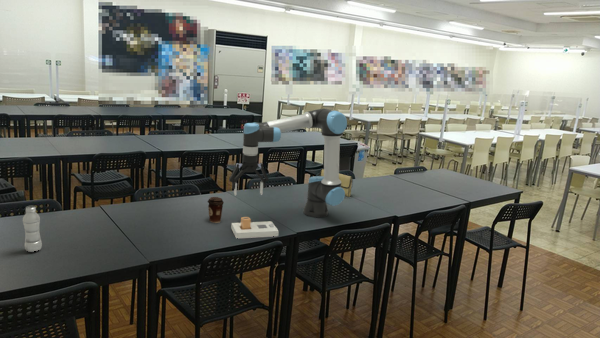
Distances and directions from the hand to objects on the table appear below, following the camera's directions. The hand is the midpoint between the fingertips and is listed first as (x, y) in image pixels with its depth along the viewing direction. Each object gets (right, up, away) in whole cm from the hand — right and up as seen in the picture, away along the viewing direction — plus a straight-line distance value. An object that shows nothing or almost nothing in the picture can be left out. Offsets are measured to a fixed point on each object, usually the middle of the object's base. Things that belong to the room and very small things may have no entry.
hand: (248, 194), depth 225 cm
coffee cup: (-20, -16, +17) cm, 31 cm away
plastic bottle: (-89, -23, -35) cm, 98 cm away
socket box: (+3, -20, +5) cm, 21 cm away
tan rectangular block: (-2, -20, +4) cm, 21 cm away
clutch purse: (+50, -5, +89) cm, 102 cm away
